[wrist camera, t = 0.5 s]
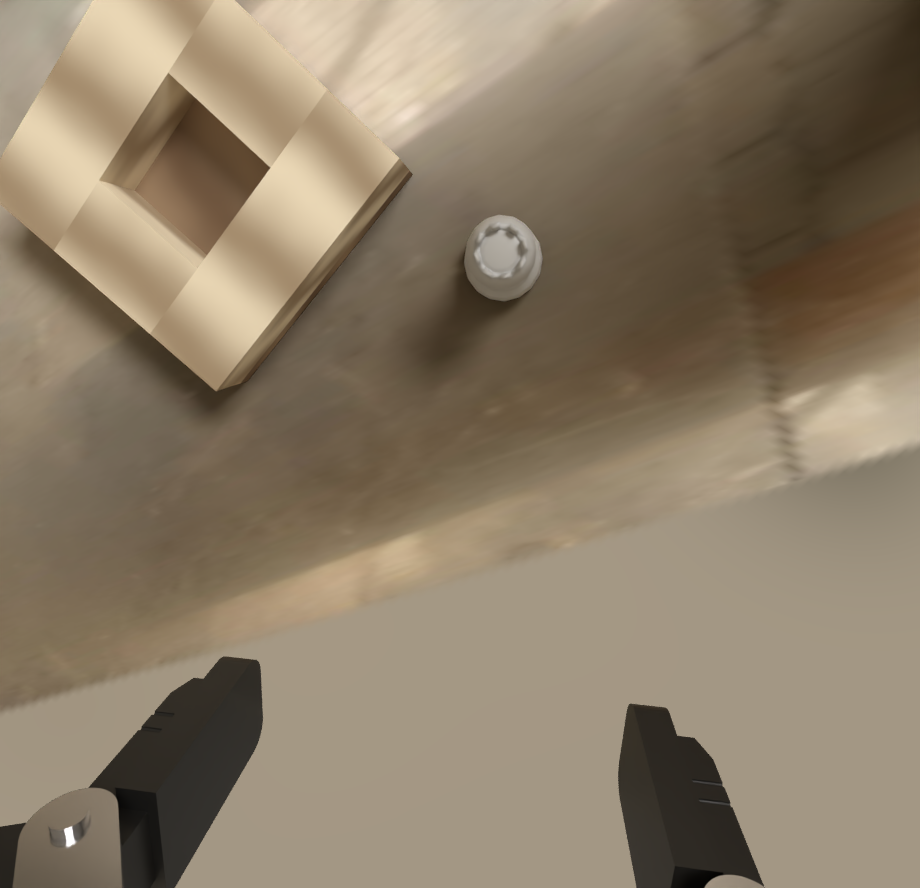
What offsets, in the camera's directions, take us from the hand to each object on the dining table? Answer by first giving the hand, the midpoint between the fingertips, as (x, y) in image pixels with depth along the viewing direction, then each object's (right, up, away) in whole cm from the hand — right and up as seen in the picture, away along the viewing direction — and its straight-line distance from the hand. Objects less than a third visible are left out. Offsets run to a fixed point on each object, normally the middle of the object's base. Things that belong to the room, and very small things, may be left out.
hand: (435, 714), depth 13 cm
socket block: (-13, +21, +21) cm, 33 cm away
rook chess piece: (+3, +16, +21) cm, 27 cm away
